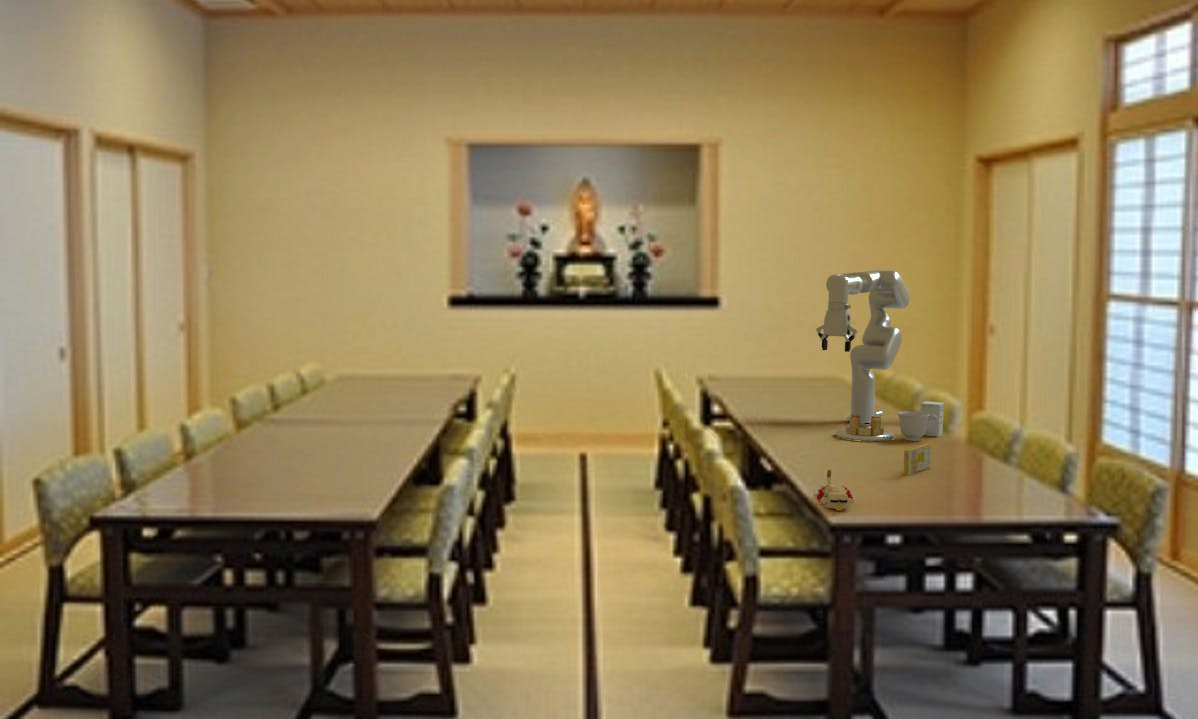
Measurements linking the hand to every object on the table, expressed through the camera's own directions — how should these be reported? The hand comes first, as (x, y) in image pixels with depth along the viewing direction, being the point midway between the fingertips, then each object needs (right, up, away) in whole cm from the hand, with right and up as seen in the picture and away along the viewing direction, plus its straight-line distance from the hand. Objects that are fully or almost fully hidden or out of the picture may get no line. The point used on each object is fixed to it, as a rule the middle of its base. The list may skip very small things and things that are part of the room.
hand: (835, 350), depth 491 cm
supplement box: (+35, -33, -8) cm, 49 cm away
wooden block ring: (+8, -31, -16) cm, 36 cm away
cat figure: (-26, -45, -134) cm, 144 cm away
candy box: (+10, -40, -84) cm, 94 cm away
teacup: (+26, -34, -21) cm, 48 cm away
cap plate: (+8, -33, -16) cm, 37 cm away
